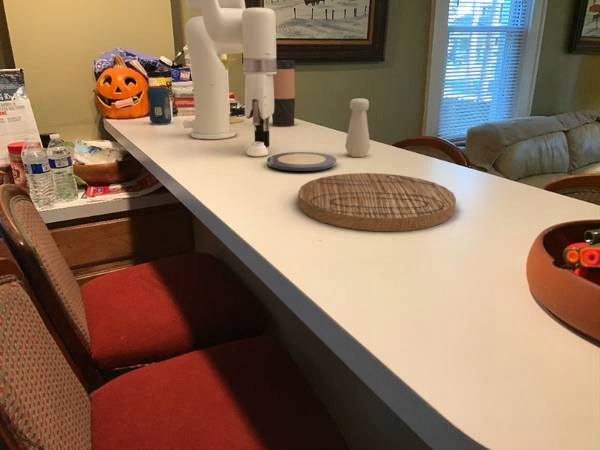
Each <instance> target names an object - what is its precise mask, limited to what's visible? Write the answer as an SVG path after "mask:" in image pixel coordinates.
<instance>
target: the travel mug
mask: <svg viewBox="0 0 600 450" xmlns="http://www.w3.org/2000/svg"><path fill="white" fill-rule="evenodd" d="M276 67H277V74H273V84H274V113H273V114H272V115H271V119H272V122H271V123H272V126H274V127H293V126H295V114H296V113H295V112H296V111H295V109H296V108H295V107H296V87H295V86H296V84H295V83H296V82H295V81H296V79H295V60H293V59H292V60H290V59H287V60H285V59H280V60H276Z"/></svg>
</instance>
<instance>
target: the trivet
mask: <svg viewBox="0 0 600 450" xmlns="http://www.w3.org/2000/svg"><path fill="white" fill-rule="evenodd" d="M297 195H298V196H297V197H298V198H297V199H298V200H297V201H298V207H299V209H300V211H302V212H303V213H304V214H305V215H307V216H308V217H310V218H312V219H314V220H317V221H318V222H322V223H325V224H328V225H332V226H336V227H339V228H345V229H346V228H347V229H353V230H359V231H371V232H407V231H409V232H410V231H414V230H422V229H428V228H431V227H434V226H438V225H440V224H443V223H445V222H447V221H448V220H449V219H451V218H452V217H453V215H454V213H455V211H456V202H457V198H456V195H455V194H454V192H452V191H451V190H450V189H449V188H447V187H445V186H443V185H441V184H438V183H436V182H434V181H431V180H425V179H422V178H417V177H414V176H408V175H400V174H391V173H375V172H374V173H373V172H361V173H360V172H359V173H358V172H356V173H355V172H354V173H342V174H334V175H328V176H322V177H319V178H315V179H312V180H310V181H307V182H306V183H305V184H302V185H301V186H300V188H299V189H298V194H297Z"/></svg>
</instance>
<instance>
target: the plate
mask: <svg viewBox="0 0 600 450" xmlns="http://www.w3.org/2000/svg"><path fill="white" fill-rule="evenodd" d="M266 164H267V165H268V166H269V167H272V168H274V169H277V170H278V169H279V170H284V171H297V172H298V171H299V172H308V171H309V172H311V171H320V170H326V169H329V168H333V167H334V166H336V165H337V158H336V157H335V156H333V155H330V154H326V153H322V152H313V151H293V152H289V151H288V152H281V153H277V154H273V155H271V156H269V157H267V159H266Z"/></svg>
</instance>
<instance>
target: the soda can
mask: <svg viewBox="0 0 600 450" xmlns="http://www.w3.org/2000/svg"><path fill="white" fill-rule="evenodd" d="M146 96H147V104H148V106H147V107H148V114H149V121H150V122H151V124H152V125H156V126H157V125H158V126H161V125H163V126H164V125H169V124H171V121H172V109H171V99H170V91H169V89H168V88H167V85H148V88H147V91H146Z"/></svg>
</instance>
